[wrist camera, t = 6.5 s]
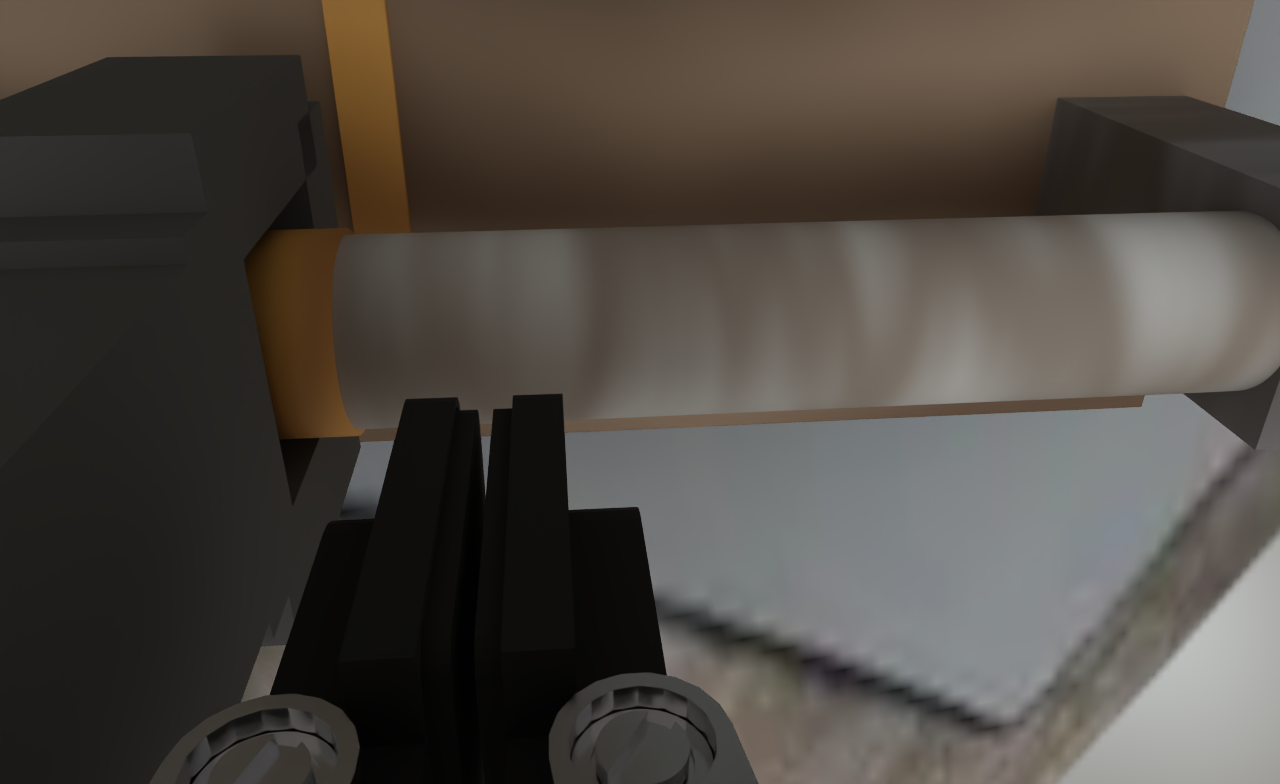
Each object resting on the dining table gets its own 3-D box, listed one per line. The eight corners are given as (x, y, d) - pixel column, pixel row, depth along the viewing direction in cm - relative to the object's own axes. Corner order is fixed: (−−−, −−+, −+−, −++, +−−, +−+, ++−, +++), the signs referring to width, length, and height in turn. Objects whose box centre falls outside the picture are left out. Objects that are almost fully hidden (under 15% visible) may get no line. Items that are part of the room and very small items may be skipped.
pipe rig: (-245, -109, 18) (-921, -103, 10) (1252, -105, 21) (1743, -99, 12) (-39, 439, 24) (-356, 745, 15) (1121, 389, 26) (1397, 627, 18)
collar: (128, 48, 16) (-922, 468, 5) (311, 46, 16) (-235, 440, 5) (217, 431, 20) (-249, 1229, 8) (367, 424, 20) (128, 1189, 8)
